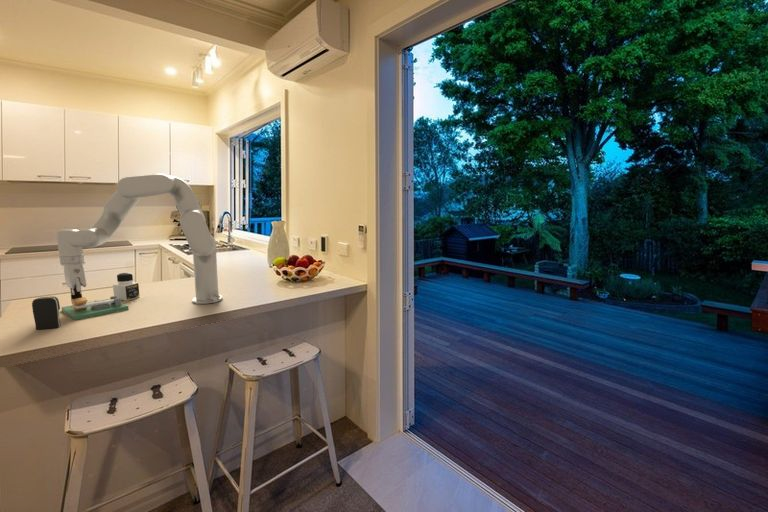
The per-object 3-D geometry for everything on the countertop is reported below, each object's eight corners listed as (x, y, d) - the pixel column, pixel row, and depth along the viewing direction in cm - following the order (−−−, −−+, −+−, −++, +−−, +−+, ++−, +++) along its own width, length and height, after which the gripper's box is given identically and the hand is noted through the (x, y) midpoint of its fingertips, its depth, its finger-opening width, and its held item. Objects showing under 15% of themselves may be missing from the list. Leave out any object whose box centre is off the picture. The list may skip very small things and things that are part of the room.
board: (128, 309, 158) (127, 298, 157) (74, 320, 144) (73, 308, 143) (112, 301, 169) (111, 291, 168) (61, 310, 155) (60, 299, 154)
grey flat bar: (119, 302, 158) (118, 298, 158) (77, 309, 147) (76, 305, 147) (116, 300, 160) (116, 297, 160) (74, 307, 149) (74, 304, 149)
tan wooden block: (90, 310, 150) (88, 299, 150) (77, 312, 147) (76, 301, 147) (85, 307, 154) (84, 296, 154) (73, 309, 151) (71, 298, 150)
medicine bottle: (127, 301, 170) (124, 275, 168) (113, 300, 172) (111, 274, 170) (140, 297, 177) (137, 272, 175) (127, 296, 179) (124, 271, 177)
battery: (63, 324, 138) (59, 294, 137) (59, 328, 135) (55, 297, 133) (39, 327, 136) (35, 296, 134) (34, 330, 132) (30, 299, 131)
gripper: (89, 260, 149) (94, 305, 152) (78, 256, 158) (83, 298, 161) (65, 263, 143) (70, 309, 146) (55, 259, 153) (60, 302, 155)
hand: (77, 303), depth 154 cm, fingers closed
